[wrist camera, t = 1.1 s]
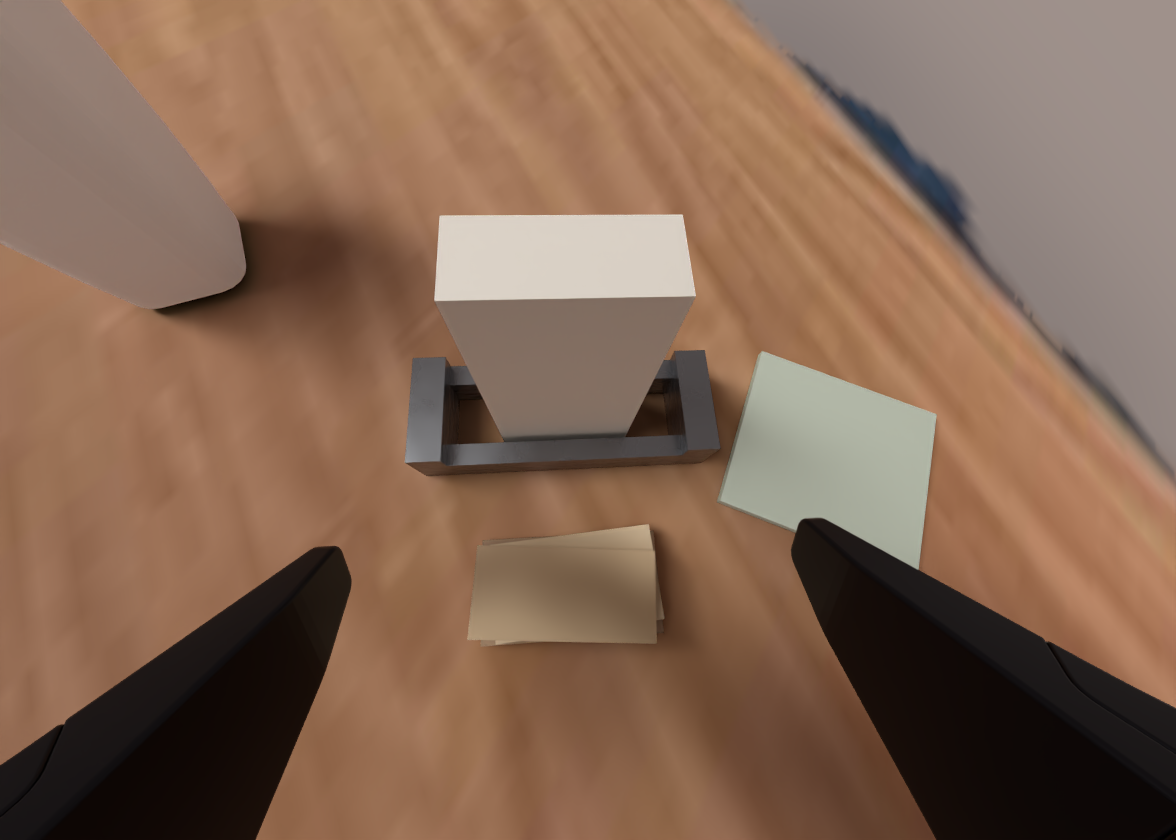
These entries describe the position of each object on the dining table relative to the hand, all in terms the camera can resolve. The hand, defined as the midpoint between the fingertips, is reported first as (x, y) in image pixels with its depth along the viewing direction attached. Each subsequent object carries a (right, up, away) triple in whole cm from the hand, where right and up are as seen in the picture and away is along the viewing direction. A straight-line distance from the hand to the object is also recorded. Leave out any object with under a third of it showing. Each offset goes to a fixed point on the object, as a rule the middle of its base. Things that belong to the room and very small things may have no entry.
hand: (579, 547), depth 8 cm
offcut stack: (-1, -5, +12) cm, 13 cm away
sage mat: (+13, 0, +14) cm, 19 cm away
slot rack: (-1, +2, +14) cm, 14 cm away
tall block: (-1, +2, +14) cm, 14 cm away
